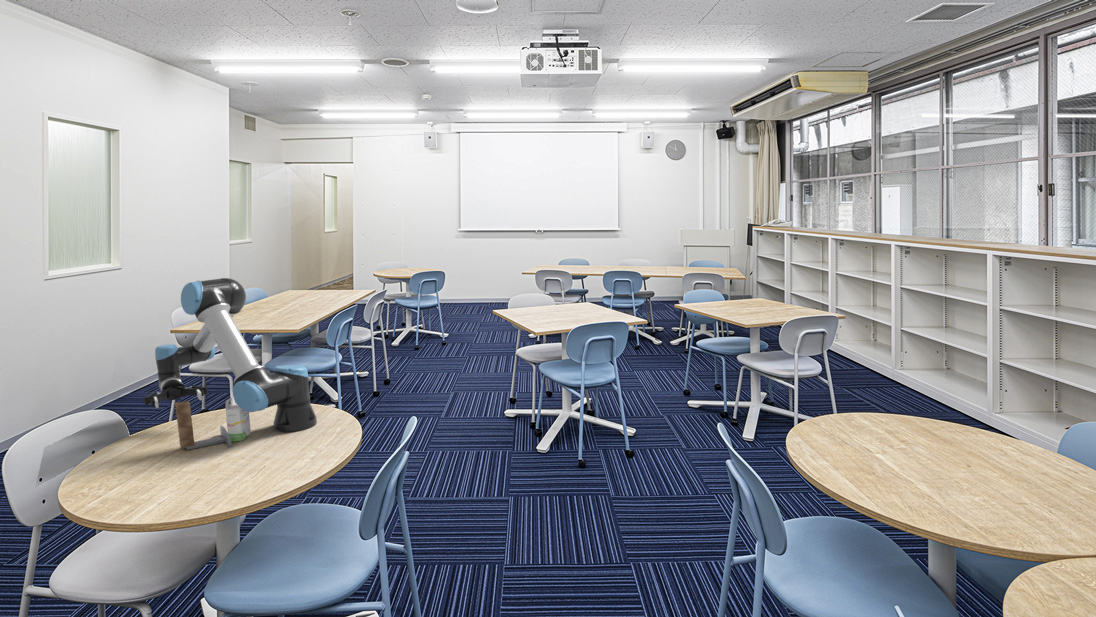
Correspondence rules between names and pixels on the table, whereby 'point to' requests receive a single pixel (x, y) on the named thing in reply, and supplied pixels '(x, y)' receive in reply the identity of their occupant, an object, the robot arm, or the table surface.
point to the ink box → (237, 421)
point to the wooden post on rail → (187, 429)
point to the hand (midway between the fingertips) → (179, 400)
